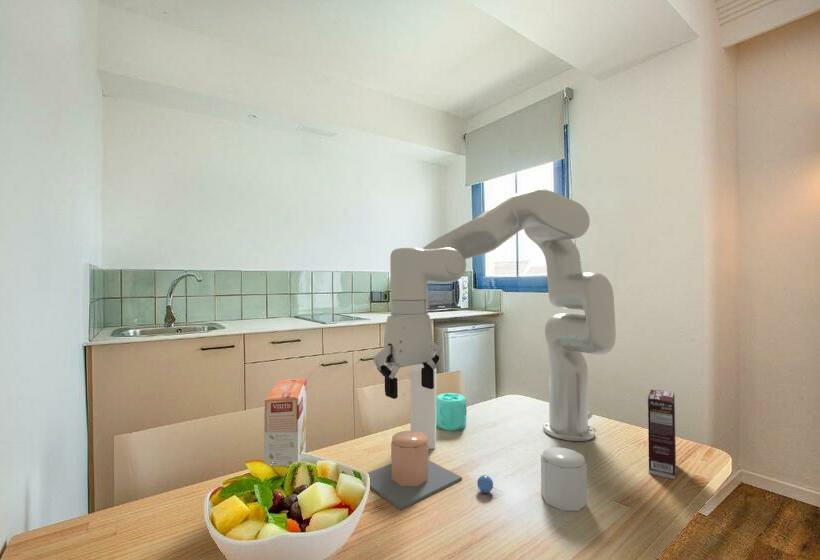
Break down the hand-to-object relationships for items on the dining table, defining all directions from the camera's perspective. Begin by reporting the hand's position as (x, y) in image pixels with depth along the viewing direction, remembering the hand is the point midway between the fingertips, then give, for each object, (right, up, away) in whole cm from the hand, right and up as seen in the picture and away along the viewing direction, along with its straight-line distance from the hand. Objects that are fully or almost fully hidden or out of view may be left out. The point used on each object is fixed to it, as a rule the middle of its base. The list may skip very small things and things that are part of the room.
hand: (410, 392), depth 79 cm
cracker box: (-23, -18, -8) cm, 30 cm away
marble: (+14, -18, -5) cm, 23 cm away
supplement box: (+54, -18, +4) cm, 57 cm away
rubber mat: (0, -18, 0) cm, 18 cm away
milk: (+3, -18, +17) cm, 25 cm away
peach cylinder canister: (0, -17, 0) cm, 17 cm away
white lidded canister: (+28, -18, -7) cm, 34 cm away
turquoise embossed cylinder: (+11, -18, +29) cm, 36 cm away
